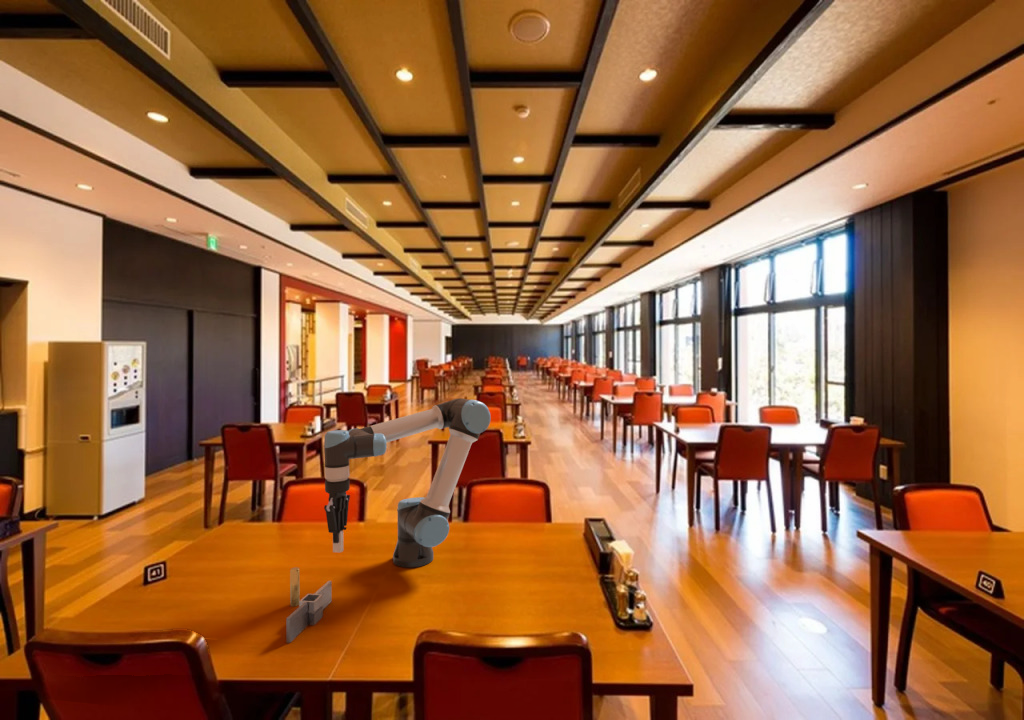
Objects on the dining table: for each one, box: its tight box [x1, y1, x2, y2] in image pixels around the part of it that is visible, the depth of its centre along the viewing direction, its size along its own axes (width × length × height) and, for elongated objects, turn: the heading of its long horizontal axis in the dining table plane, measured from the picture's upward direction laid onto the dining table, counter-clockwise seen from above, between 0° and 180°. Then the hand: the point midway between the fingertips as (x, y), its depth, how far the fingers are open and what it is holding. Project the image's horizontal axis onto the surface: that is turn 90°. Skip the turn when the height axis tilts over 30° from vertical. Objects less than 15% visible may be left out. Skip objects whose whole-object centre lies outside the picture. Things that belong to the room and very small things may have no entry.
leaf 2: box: [285, 602, 324, 644], centre depth 138 cm, size 14×5×7 cm, turn 172°
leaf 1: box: [298, 580, 333, 613], centre depth 147 cm, size 13×5×6 cm, turn 172°
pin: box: [289, 566, 301, 608], centre depth 152 cm, size 3×3×11 cm
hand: (338, 551), depth 159 cm, fingers closed
